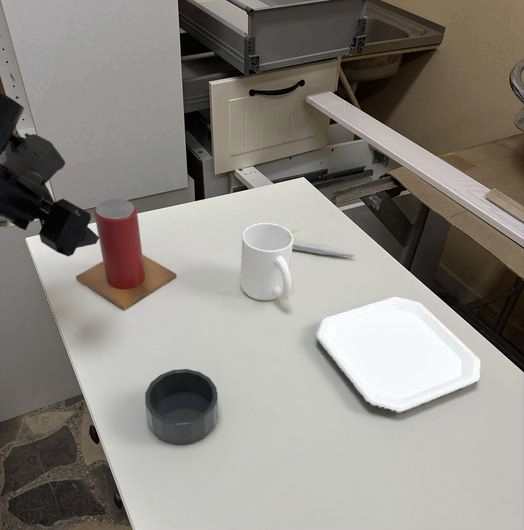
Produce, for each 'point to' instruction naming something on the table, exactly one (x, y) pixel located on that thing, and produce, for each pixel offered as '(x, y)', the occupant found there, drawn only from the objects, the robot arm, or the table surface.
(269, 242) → the mug
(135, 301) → the coaster
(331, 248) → the tool
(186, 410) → the bowl
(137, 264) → the can
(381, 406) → the plate
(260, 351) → the table surface
